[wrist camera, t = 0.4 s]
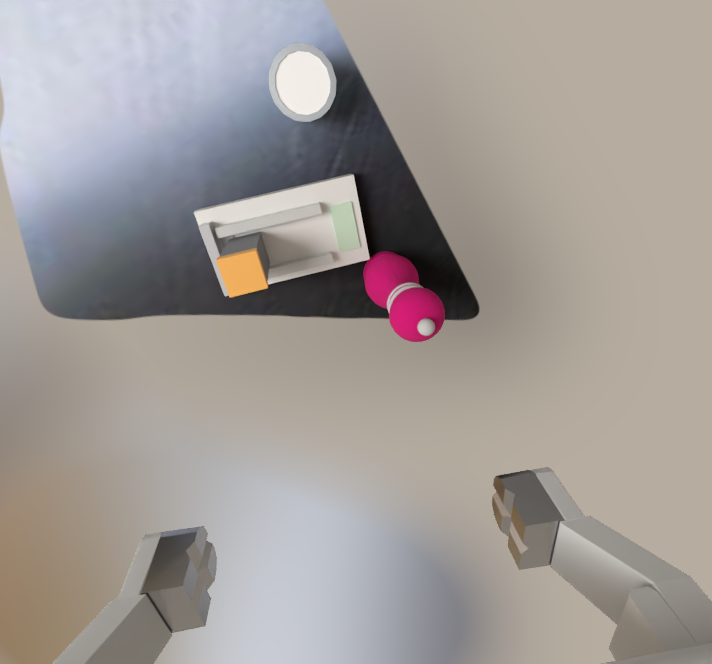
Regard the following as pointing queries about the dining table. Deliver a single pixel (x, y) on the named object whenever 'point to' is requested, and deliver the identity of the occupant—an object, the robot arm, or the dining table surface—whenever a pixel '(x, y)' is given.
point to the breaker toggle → (244, 264)
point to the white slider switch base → (293, 227)
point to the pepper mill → (403, 296)
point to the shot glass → (302, 82)
